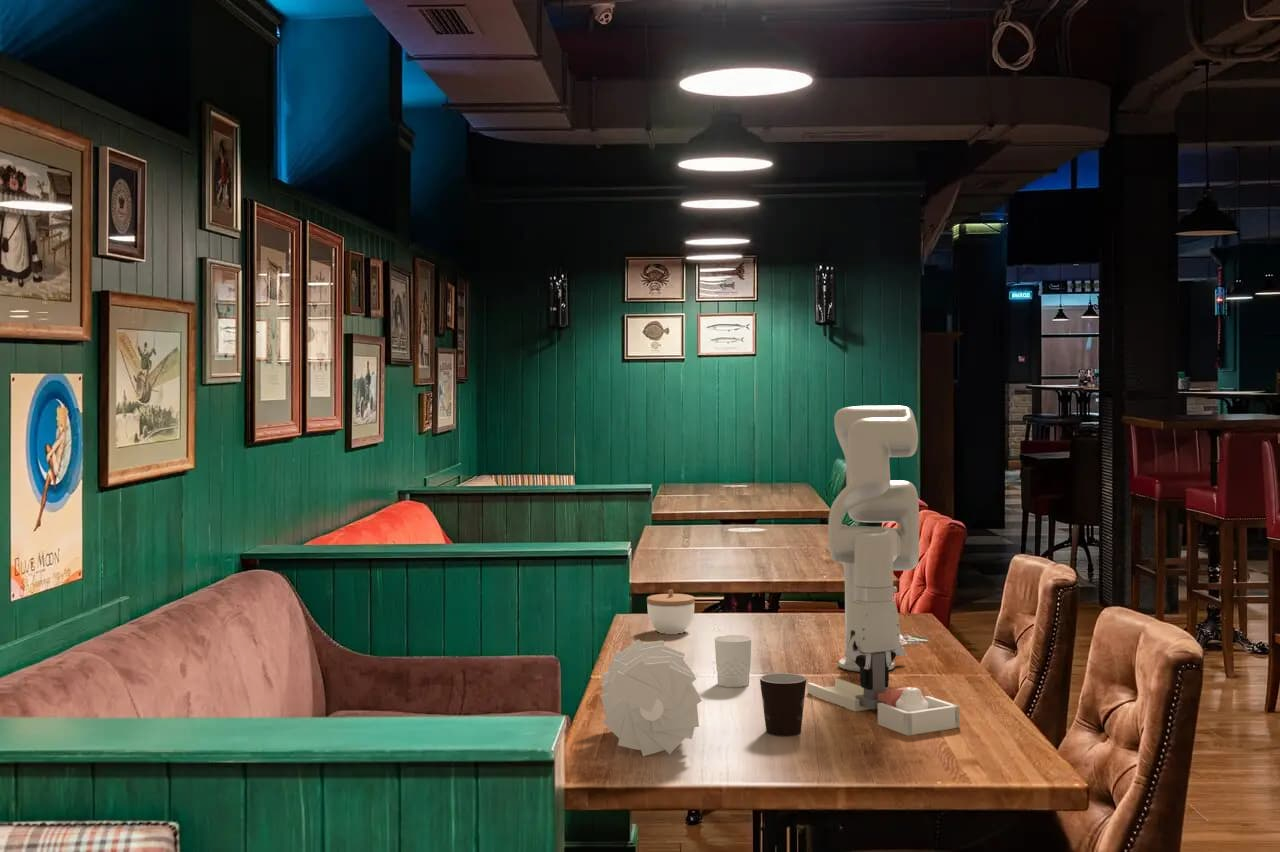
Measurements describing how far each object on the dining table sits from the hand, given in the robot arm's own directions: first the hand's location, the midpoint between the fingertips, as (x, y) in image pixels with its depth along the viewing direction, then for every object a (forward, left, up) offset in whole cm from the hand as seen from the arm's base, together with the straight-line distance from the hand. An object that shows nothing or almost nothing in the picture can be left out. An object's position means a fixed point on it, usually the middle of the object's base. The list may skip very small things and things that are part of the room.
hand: (874, 686), depth 254 cm
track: (0, -9, -5) cm, 11 cm away
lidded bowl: (-3, -93, -5) cm, 93 cm away
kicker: (0, +3, -4) cm, 5 cm away
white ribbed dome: (0, +12, -5) cm, 13 cm away
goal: (0, +14, -5) cm, 14 cm away
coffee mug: (+23, +4, -5) cm, 24 cm away
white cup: (+13, -33, -5) cm, 36 cm away
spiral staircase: (+49, -1, -5) cm, 49 cm away
